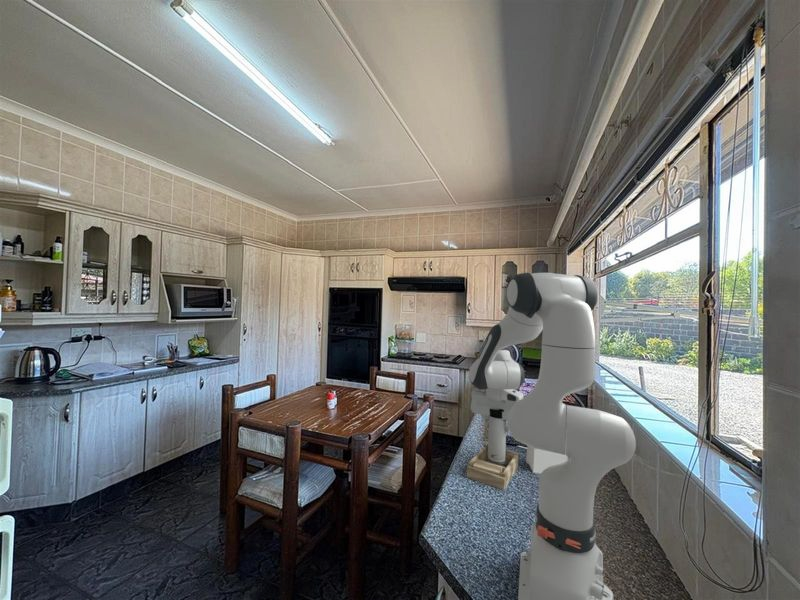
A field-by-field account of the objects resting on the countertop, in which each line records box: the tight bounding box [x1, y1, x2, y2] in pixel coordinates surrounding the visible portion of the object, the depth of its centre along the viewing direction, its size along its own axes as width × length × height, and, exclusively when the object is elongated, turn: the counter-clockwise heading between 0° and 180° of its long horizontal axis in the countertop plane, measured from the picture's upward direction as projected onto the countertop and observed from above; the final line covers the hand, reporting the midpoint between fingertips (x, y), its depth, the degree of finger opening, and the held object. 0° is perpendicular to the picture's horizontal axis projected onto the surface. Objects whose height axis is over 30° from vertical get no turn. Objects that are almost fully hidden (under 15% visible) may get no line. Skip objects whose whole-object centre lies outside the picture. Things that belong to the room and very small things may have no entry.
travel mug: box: [487, 409, 507, 466], centre depth 118 cm, size 6×7×20 cm
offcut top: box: [473, 460, 502, 476], centre depth 111 cm, size 5×9×2 cm, turn 59°
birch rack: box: [466, 443, 519, 491], centre depth 115 cm, size 18×13×7 cm
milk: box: [525, 445, 569, 474], centre depth 120 cm, size 12×12×26 cm
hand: (497, 429), depth 118 cm, fingers closed on travel mug, 6 cm apart
